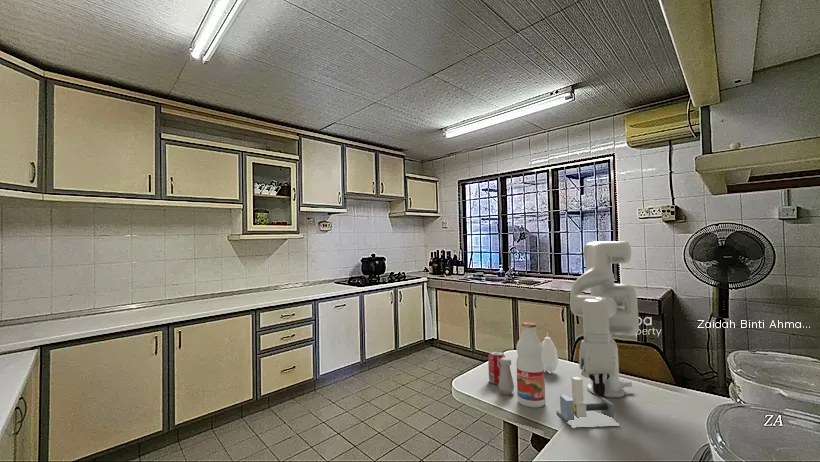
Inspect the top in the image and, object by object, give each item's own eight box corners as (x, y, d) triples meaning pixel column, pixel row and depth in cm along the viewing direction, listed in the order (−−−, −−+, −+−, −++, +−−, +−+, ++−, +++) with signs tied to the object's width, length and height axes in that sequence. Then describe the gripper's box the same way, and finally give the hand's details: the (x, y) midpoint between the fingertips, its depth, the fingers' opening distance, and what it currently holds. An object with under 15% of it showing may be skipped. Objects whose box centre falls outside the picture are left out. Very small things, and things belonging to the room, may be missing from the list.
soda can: (508, 381, 146) (507, 351, 146) (503, 386, 140) (502, 356, 140) (492, 378, 149) (491, 349, 150) (486, 383, 143) (485, 353, 144)
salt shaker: (496, 390, 136) (495, 356, 137) (510, 389, 137) (509, 355, 138) (501, 396, 130) (500, 360, 131) (516, 395, 131) (515, 360, 132)
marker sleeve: (579, 411, 114) (578, 375, 115) (586, 417, 110) (585, 380, 110) (570, 411, 114) (569, 376, 114) (577, 417, 110) (575, 380, 110)
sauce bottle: (541, 375, 152) (540, 333, 153) (538, 369, 160) (536, 329, 161) (560, 376, 151) (558, 333, 152) (556, 370, 158) (554, 329, 159)
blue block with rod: (600, 411, 117) (599, 390, 118) (619, 426, 107) (618, 402, 108) (556, 413, 116) (555, 391, 117) (572, 428, 106) (571, 404, 107)
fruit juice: (550, 402, 125) (547, 323, 126) (537, 410, 118) (534, 327, 120) (525, 394, 131) (523, 319, 133) (512, 402, 125) (510, 323, 127)
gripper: (611, 333, 118) (614, 388, 117) (568, 335, 117) (570, 391, 116) (626, 339, 110) (629, 398, 110) (580, 341, 110) (583, 400, 109)
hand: (599, 394), depth 113 cm, fingers closed
